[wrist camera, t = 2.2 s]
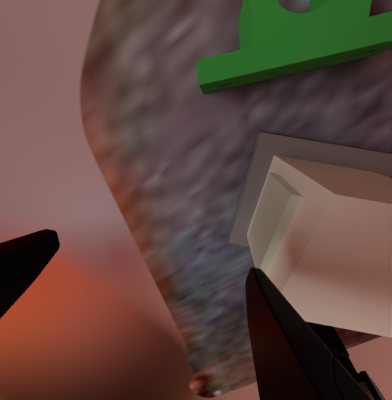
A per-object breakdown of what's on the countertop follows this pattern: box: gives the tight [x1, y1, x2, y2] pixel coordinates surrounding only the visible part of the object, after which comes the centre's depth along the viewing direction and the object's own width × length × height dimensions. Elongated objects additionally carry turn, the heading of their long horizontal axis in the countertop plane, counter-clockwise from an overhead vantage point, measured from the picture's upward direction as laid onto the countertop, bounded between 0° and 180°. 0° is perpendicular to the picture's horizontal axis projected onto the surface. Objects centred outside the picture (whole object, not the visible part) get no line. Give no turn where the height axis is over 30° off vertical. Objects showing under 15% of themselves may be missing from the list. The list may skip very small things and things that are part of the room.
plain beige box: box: [228, 131, 392, 338], centre depth 13 cm, size 11×11×9 cm
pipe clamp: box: [196, 0, 392, 94], centre depth 10 cm, size 11×4×5 cm, turn 100°
